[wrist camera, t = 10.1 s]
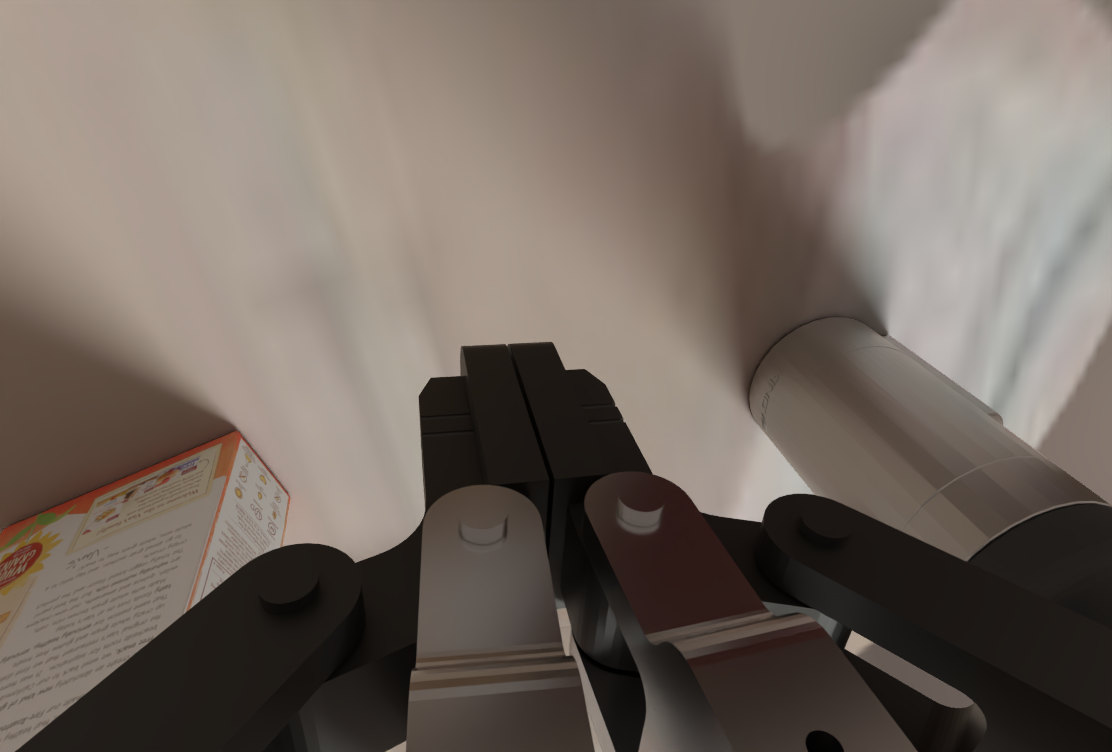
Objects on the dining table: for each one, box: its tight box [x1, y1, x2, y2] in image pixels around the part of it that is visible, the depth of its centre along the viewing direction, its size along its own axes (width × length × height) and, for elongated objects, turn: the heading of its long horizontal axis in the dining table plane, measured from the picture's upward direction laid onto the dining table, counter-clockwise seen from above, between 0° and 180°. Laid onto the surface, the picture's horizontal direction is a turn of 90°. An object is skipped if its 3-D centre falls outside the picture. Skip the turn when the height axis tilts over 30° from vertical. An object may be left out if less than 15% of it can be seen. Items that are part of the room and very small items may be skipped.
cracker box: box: [0, 431, 290, 752], centre depth 29 cm, size 14×6×21 cm, turn 109°
